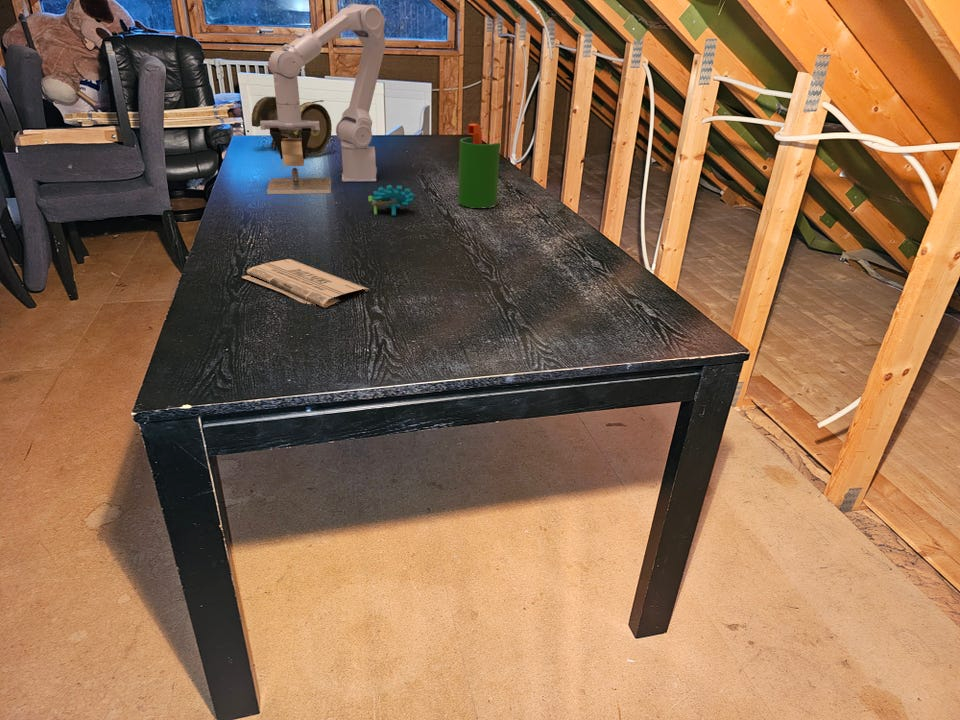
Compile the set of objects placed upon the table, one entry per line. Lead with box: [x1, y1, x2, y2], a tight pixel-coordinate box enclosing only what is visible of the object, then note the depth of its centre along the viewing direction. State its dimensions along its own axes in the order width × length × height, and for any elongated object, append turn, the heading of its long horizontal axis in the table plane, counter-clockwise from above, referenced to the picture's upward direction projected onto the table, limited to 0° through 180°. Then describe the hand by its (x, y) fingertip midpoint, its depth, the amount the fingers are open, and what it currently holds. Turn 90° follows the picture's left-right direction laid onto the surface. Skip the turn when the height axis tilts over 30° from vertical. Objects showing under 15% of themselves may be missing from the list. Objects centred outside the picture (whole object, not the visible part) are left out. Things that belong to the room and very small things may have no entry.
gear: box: [367, 184, 415, 217], centre depth 157 cm, size 11×6×10 cm
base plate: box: [266, 167, 332, 195], centre depth 174 cm, size 16×12×5 cm
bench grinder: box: [251, 96, 333, 158], centre depth 208 cm, size 20×22×20 cm
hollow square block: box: [281, 138, 305, 167], centre depth 171 cm, size 5×5×6 cm
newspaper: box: [241, 258, 370, 308], centre depth 119 cm, size 23×12×2 cm, turn 52°
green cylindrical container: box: [457, 123, 501, 208], centre depth 163 cm, size 10×9×20 cm
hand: (293, 158), depth 171 cm, fingers closed on hollow square block, 5 cm apart
